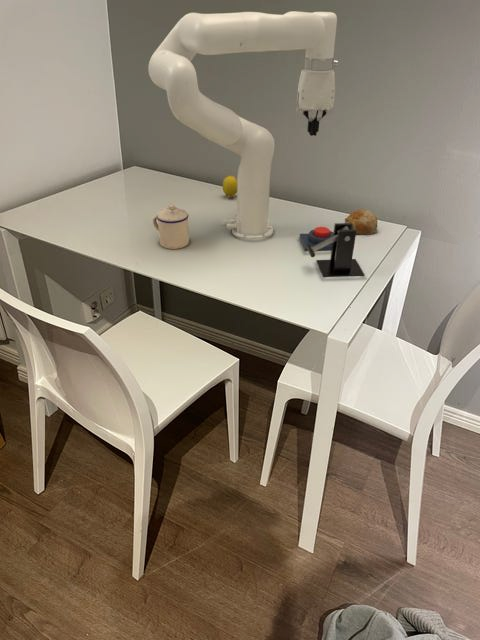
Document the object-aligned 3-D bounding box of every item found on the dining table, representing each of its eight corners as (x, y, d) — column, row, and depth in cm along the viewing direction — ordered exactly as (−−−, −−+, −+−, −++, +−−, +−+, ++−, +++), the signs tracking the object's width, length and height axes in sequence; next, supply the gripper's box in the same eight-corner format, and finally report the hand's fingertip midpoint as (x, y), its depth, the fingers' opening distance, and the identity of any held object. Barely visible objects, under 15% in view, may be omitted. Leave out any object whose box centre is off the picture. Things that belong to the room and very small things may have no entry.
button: (315, 238, 142) (316, 233, 141) (312, 232, 145) (313, 226, 144) (330, 238, 142) (331, 232, 141) (327, 231, 145) (327, 226, 144)
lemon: (222, 194, 180) (222, 172, 175) (237, 194, 180) (237, 172, 175) (223, 200, 175) (222, 178, 170) (238, 200, 175) (238, 177, 171)
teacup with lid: (196, 240, 148) (194, 203, 141) (177, 252, 142) (174, 214, 135) (164, 231, 153) (161, 195, 147) (145, 242, 147) (141, 205, 140)
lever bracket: (322, 280, 129) (328, 235, 122) (315, 263, 137) (320, 220, 129) (364, 278, 130) (371, 234, 123) (354, 262, 137) (361, 219, 130)
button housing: (304, 254, 141) (305, 241, 139) (299, 240, 149) (300, 228, 147) (342, 253, 142) (344, 240, 140) (335, 239, 150) (336, 227, 147)
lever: (312, 260, 128) (309, 252, 126) (308, 250, 132) (305, 243, 131) (354, 239, 125) (350, 231, 124) (348, 230, 130) (345, 222, 128)
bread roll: (369, 247, 153) (384, 226, 148) (340, 231, 152) (355, 210, 147) (368, 234, 161) (383, 214, 156) (341, 219, 160) (355, 198, 155)
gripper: (342, 63, 139) (334, 131, 149) (289, 63, 138) (285, 131, 148) (349, 67, 133) (340, 137, 143) (293, 67, 132) (289, 138, 142)
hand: (312, 134), depth 146 cm, fingers closed
